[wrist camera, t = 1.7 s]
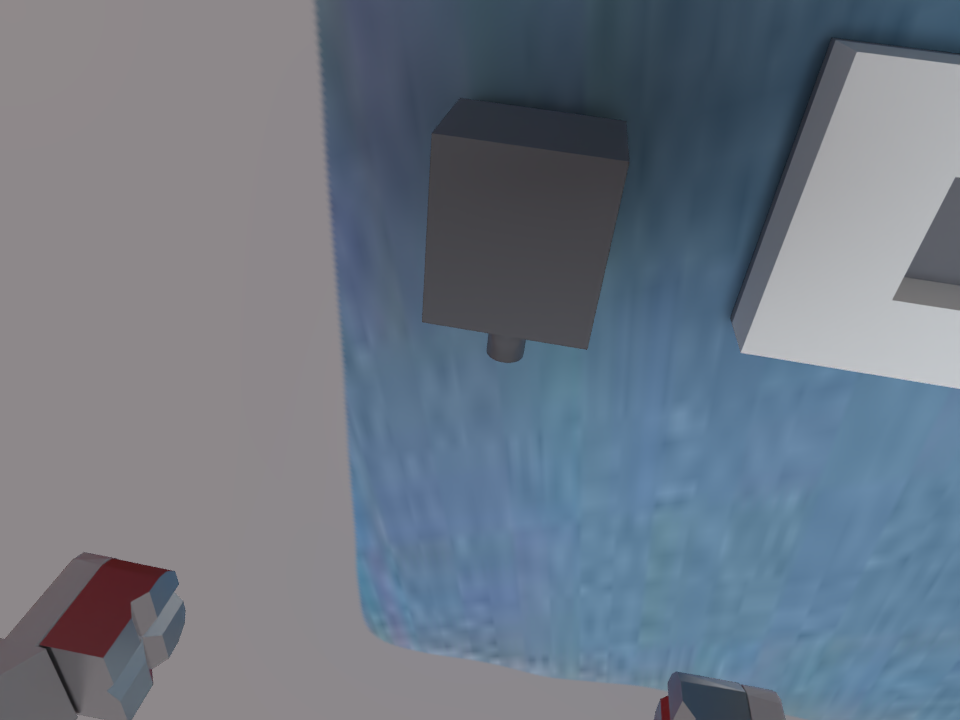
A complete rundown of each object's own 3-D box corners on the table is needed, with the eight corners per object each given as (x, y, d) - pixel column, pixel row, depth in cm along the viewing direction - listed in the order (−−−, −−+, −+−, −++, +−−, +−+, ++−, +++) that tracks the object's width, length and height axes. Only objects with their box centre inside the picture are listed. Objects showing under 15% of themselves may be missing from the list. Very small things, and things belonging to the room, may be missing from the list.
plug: (469, 86, 27) (431, 133, 21) (625, 108, 27) (629, 161, 21) (452, 291, 33) (419, 372, 27) (582, 312, 32) (576, 399, 26)
